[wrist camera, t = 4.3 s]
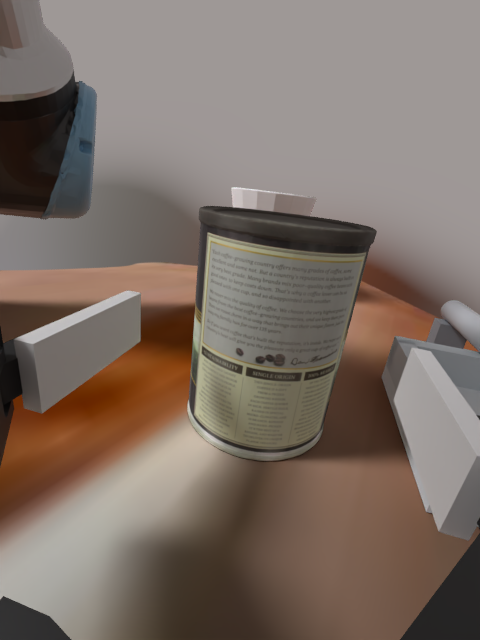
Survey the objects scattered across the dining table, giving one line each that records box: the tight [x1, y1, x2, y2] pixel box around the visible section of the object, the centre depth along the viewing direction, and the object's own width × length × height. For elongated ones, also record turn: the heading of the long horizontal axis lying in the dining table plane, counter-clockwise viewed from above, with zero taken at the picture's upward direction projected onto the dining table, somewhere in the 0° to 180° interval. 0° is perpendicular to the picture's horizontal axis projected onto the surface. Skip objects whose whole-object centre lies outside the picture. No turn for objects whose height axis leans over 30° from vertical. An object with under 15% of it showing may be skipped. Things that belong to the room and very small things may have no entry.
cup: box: [231, 187, 316, 216], centre depth 54 cm, size 14×14×16 cm
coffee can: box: [188, 206, 376, 461], centre depth 22 cm, size 10×10×14 cm
